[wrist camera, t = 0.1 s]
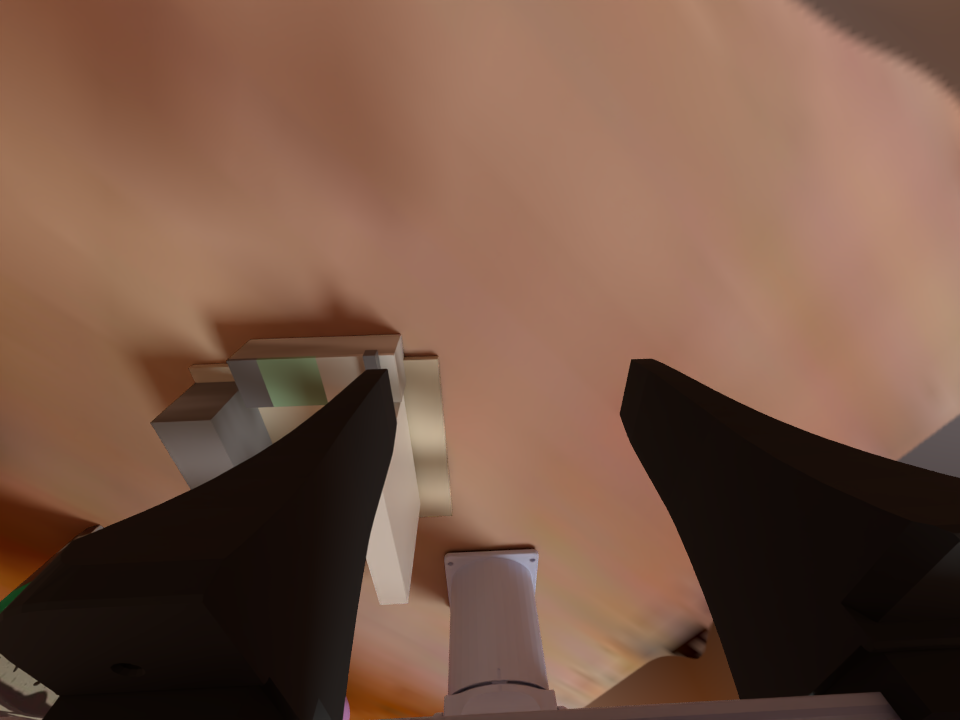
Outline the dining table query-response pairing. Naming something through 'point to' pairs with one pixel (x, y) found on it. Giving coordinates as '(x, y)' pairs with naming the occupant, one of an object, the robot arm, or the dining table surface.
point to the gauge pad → (394, 514)
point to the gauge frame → (300, 405)
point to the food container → (14, 690)
